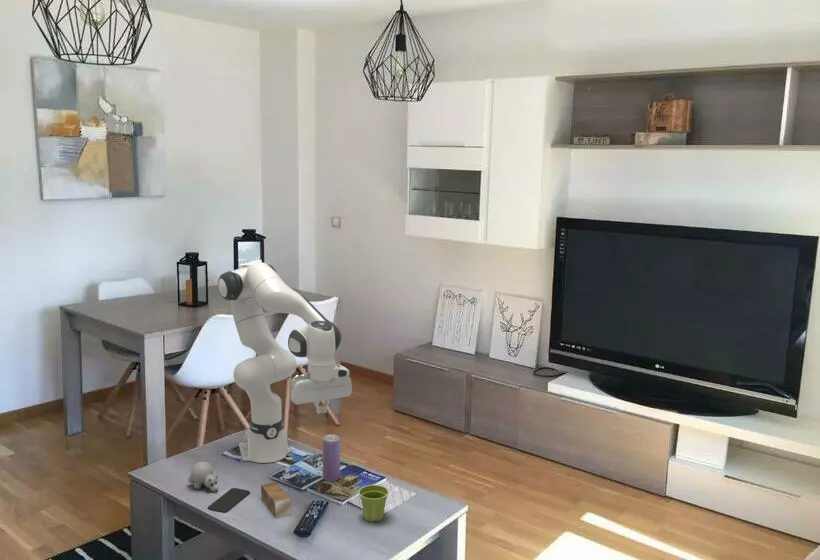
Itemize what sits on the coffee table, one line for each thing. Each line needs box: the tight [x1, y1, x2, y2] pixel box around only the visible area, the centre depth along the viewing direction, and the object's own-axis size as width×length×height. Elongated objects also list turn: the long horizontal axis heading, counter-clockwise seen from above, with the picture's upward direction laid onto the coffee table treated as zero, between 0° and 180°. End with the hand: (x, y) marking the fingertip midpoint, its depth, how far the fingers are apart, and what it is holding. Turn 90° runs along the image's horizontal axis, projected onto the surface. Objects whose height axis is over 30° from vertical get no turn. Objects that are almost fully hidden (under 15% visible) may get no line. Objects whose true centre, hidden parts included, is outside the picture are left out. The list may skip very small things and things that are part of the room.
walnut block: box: [260, 480, 292, 519], centre depth 229 cm, size 5×5×14 cm
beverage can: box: [322, 434, 341, 482], centre depth 249 cm, size 6×6×15 cm
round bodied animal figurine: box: [187, 461, 219, 493], centre depth 240 cm, size 7×12×8 cm, turn 53°
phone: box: [207, 487, 251, 514], centre depth 232 cm, size 7×1×15 cm
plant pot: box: [358, 484, 390, 523], centre depth 223 cm, size 9×9×9 cm
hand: (321, 412), depth 232 cm, fingers closed
